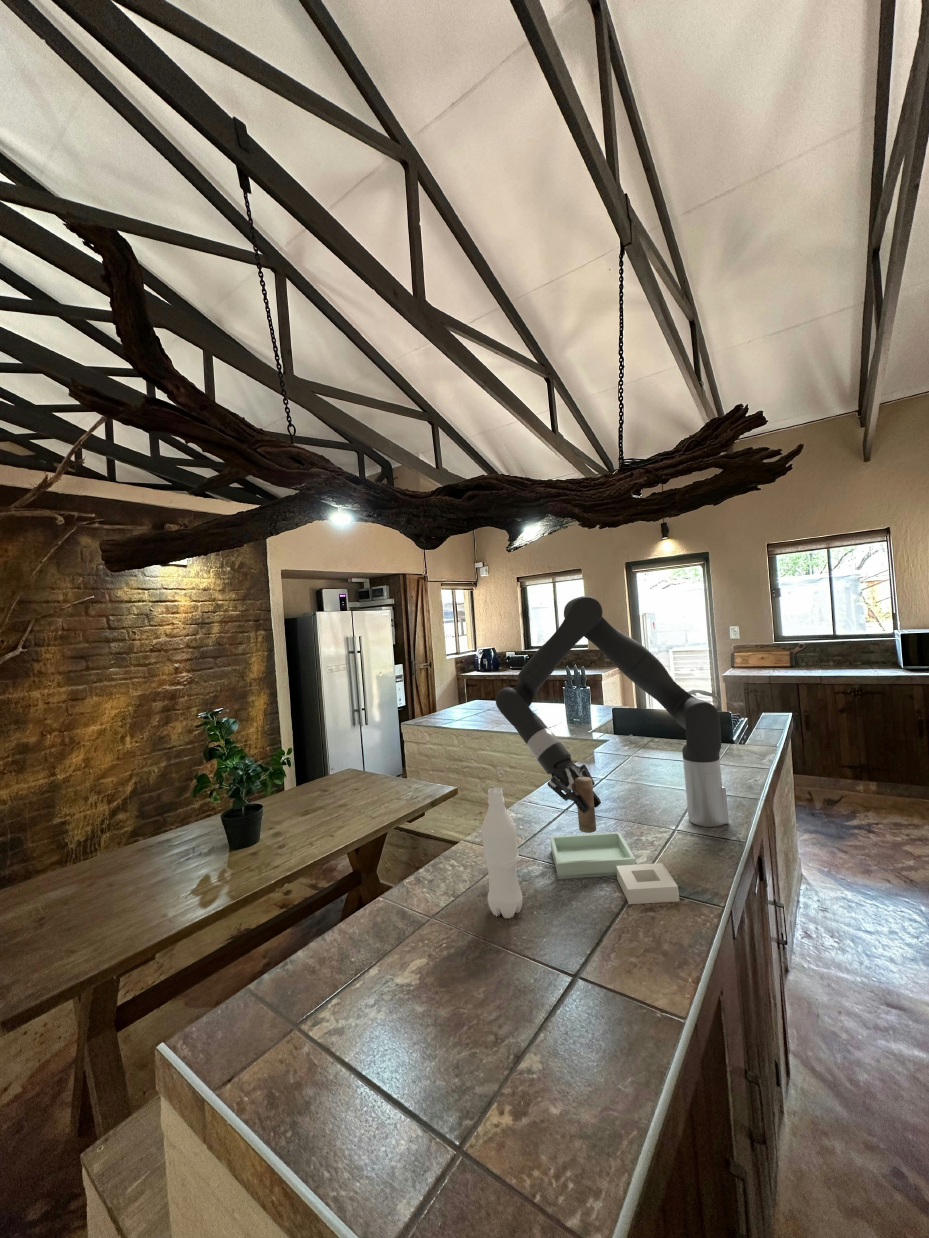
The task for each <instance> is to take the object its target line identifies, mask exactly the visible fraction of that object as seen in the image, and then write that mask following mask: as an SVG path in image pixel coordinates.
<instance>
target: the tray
mask: <svg viewBox="0 0 929 1238" xmlns="http://www.w3.org/2000/svg"><path fill="white" fill-rule="evenodd" d="M549 840H550V849H551V855H552V858H553V863H554V867H555V870H556V874H557V878H558V880H569V879H582V878H586V879H587V878H598V877H599V878H600V877H614V876H616V877H617V870H616V866H623V865H637V859H636V857H635V855H634V853H633V852H632V850H631V848H630V846H629V845H628V844H627V842H626V840H625V839H624V837H623V835H622V834H621V833H620V832H619V831H618V832H617V831H616V832H613V831H612V832H600V833H586V834H570V835H557V836H549Z"/></svg>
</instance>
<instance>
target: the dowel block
mask: <svg viewBox="0 0 929 1238" xmlns="http://www.w3.org/2000/svg"><path fill="white" fill-rule="evenodd" d="M616 870H617V876H616V879H617V882H618V884H619V885H620V887H621V890H622V891H623V894H624V896H625V898H626V901H627V903H628V904H629V905H639V904H657V903H672V902H673V903H674V902H675V903H677V902H680V895H679V893H680V892H679V886H678V884H677V883H676V882H675V880H674V879H673V877H672V876H671V874H670V873H669V871H668V870H667V869H666V867H665V865H664V864H663V863H662V862H658V863H642V864H641V863H640V864H636V865H623V866H616Z"/></svg>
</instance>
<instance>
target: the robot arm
mask: <svg viewBox="0 0 929 1238" xmlns="http://www.w3.org/2000/svg"><path fill="white" fill-rule="evenodd" d="M563 618H564V619H563V621H562V623H561V624H560V626H559V627H558V629H557V630H556V631H555V632H554V634H552V635H551V636H550V638H549V639H548V640H547V641H546V642H544V644H542V645H541V646H540V648H539V649H538V650H536V652H535V653H533V655H532V656H531V657H530V658H529V660H528V661H527V662H526V663H525V664H524V666H523V667H522V668H521V669H520V671H519V672H518V675H517V680H518V681H517V683H516V684H515V686H514V687H513V688H512V687H509V686H507V687H503V688H501V689H499V690H498V692H497V693H496V695H495V706H496V707H497V709H498V711H499V712H500V713H501V715H502V716H503V717H504V718H505V719H506V720H507V721H508V722H509V724H510V725H512V726H513V728H514V729H515V730H516V731H517V733H518V734H519V736H520V738H521V739H522V740H523V741H524V743H525V744H526V745H527V747H528V749H529V750H530V752H531V753H532V755H533V756H534V758H535V760H536V761H537V762H538V764H540V765H541V767H542V768H543V770H544V771H545V773H547V775H551V778H550V779H549V780H548V782H547V786H548V787H549V788H550V789H551V790H552V791H554V792H555V794H557V795H558V796H559V797H560V798H561V799H563V800H564V801H565V802H567V801H571V802H573V804H575V806H576V807H577V806H578V808H579V809H580V811H582V812H583V813H586V812H588V811H589V809H590V807H589V805H588V804H587V803H586V801H585V800H584V799H583V798H582V796H581V795H579V793H578V791H577V789H576V784H575V779H576V778H579V777H589V778H591V779H592V784H593V787H594V786H595V781H594V778H593V777H592V775H591V773H590V770H589V769H588V766H587V765H586V764H582V765H581V766H578V765H577V764H575V763H574V762H573V761H572V755H571V753H570V752H569V751H568V750H567V748H566V747H565V746H564V745H563V743H562V742H561V740H559V738H558V737H557V736H556V734H555V733H554V732H552V730H551V729H550V728H549V727H548V726H547V725H546V724H545V722H544V721H543V720H542V719H541V718H540V717H539V716H538V715H537V713H535V712H534V711H533V710H532V709H531V705H532V704H533V701H534V699H535V697H536V696H537V694H538V691H539V689H540V688H541V687H542V686H543V685H544V684H545V683H546V681H547V680H548V678H549V677H550V676H551V675H552V674H553V672H554V671H555V670H556V668H558V666H559V665H560V663H561V662H562V661H563V660H564V659H565V657H566V656H567V654H568V653H570V651H571V650H572V649H573V648H574V647H575V646H576V645H577V644H578V643H579V641H580V640H582V639H583V638H586V639H587V640H588V641H590V642H591V644H593V645H594V646H595V647H597V648H598V650H600V652H602V654H603V655H604V656H605V657H606V658H607V659H608V660H609V661H610V662H611V663H612V664H613V665H614V666H615V667H616V668H617V669H618V670H619V671H620V672H621V673H622V674H623V675H625V676H626V677H627V678H628V679H629V680H630V681H631V682H632V683H634V684H635V685H637V687H639V688H640V689H641V690H642V691H643V692H644V693H646V694H648V695H649V696H651V698H653V699H654V700H655V701H657V703H658V704H660V705H661V706H662V707H663V708H664V709H665V711H666V712H667V713H668V714H669V715H670V716H671V717H672V718H673V720H675V722H676V723H677V724H678V725H679V726H680V727H681V728H683V729H684V730H685V736H686V739H685V740H686V744H685V745H683V747H682V749H681V753H682V762H683V773H684V783H685V784H684V785H685V794H686V795H685V796H686V805H687V815H688V821H689V822H691V823H692V824H693V825H696V826H700V827H705V828H707V827H709V828H714V827H715V828H716V827H721V826H724V825H727V824H730V821H729V820H730V818H729V810H728V799H727V790H726V789H727V788H726V786H723V780H722V779H723V778H722V768H721V758H720V751H721V749H722V729H721V728H722V727H721V719H720V713H719V712H718V709H717V708H716V707H715V706H714V705H713V704H712V703H710V702H708V701H705V700H703V699H699V698H697V697H695V696H694V695H692V694H691V693H689V692H688V691H686V690H685V689H684V688H683V687H681V686H680V685H679V684H678V683H677V682H676V681H675V680H674V679H673V678H672V676H671V675H670V673H669V672H668V670H667V669H666V668H665V666H664V665H663V663H662V662H661V661H660V660H659V659H658V658H657V657H656V656H655V655H654V654H653V653H652V652H651V651H650V650H648V649H647V648H646V647H645V646H643V645H642V643H640V642H638V641H637V640H636V639H633V638H632V637H630V636H629V635H627V634H625V633H624V632H622V631H620V630H619V629H617V628H616V627H614V626H613V625H612V624H611V623H610V622H609V621H608V620H607V619H606V618H605V617H603V607H602V605H601V602H600V601H599V600H598V599H596V598H595V597H592V596H588V595H587V596H585V595H584V596H583V595H582V596H579V597H575V598H572V599H571V600H569V601H568V602H567V603H566V604H565V606H564V609H563ZM593 796H594V808H598V807H599V806H600V805H601V804H602V802H601V799H600V798H599V796H598V795H597V794H596V793H595V791H594V790H593ZM578 808H577V809H578Z"/></svg>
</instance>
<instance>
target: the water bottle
mask: <svg viewBox="0 0 929 1238" xmlns="http://www.w3.org/2000/svg"><path fill="white" fill-rule="evenodd" d="M487 795H488V796H487V797H488V798H487V804H488V809H487V812H486V814H485V817H484V820H483V822H482V826H481V835H482V846H483V858H484V861H485V864H486V867H487V874H488V883H489V884H488V893H487V903H488V906H489V909H490V912H491V913H492V914H493V915H494V916H495V915H496V916H495V917H497V916H498V915H499V916H500V915H502V917H503V918H504V919H507V918H508V919H512V918H513V917H514V916H515V913H516V914H519V913H520V912H521V909H522V907H523V906H522V905H523V901H524V900H523V899H524V898H523V893H522V890H521V887H520V883H519V880H518V870H517V867H518V866H517V865H518V859H519V856H520V854H519V852H518V843H517V840H518V839H517V827H516V824H515V821H514V820H513V817H512V816H511V815H510V813H509V812H508V810H507V808H506V805H505V800H506V799H504V797H505V796H504V795H503V789H502V788H501V787H492V788H489V789H488V790H487ZM499 916H498V917H499ZM511 917H512V918H511Z"/></svg>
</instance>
